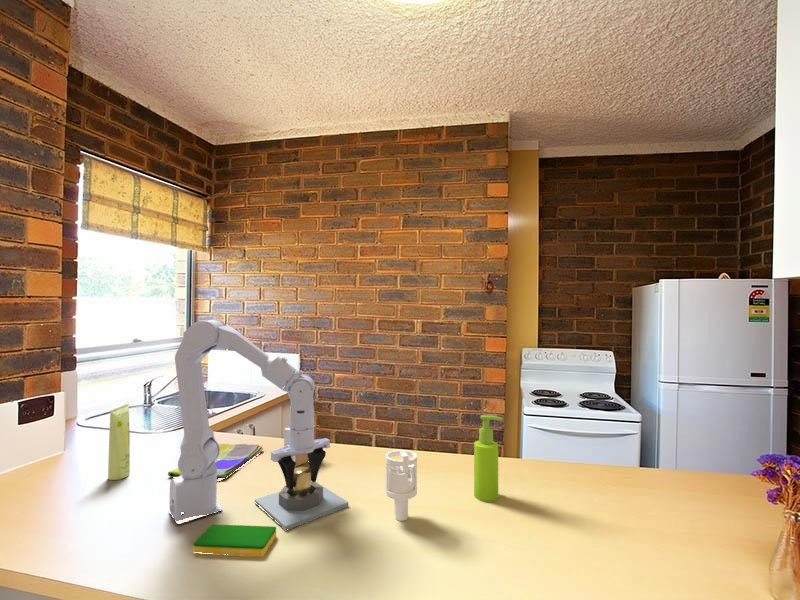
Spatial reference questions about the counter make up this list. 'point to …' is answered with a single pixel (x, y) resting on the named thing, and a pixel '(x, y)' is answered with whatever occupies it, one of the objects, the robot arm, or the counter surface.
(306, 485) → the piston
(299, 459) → the small box
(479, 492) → the soap dispenser
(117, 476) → the tube
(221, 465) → the dish towel
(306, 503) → the ring plate
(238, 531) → the dish sponge
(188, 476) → the robot arm
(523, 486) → the counter surface
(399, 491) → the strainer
